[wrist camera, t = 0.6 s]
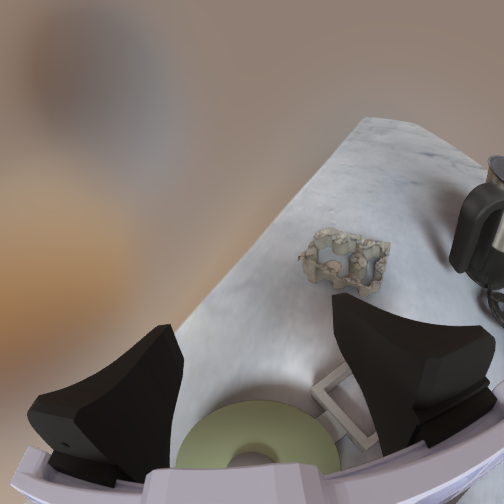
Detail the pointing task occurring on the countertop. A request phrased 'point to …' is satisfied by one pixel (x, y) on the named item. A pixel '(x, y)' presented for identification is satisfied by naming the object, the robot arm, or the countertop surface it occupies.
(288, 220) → the countertop surface
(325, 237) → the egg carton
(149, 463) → the robot arm
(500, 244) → the milk frother
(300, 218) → the countertop surface
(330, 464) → the green disc with bracket
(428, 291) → the countertop surface
